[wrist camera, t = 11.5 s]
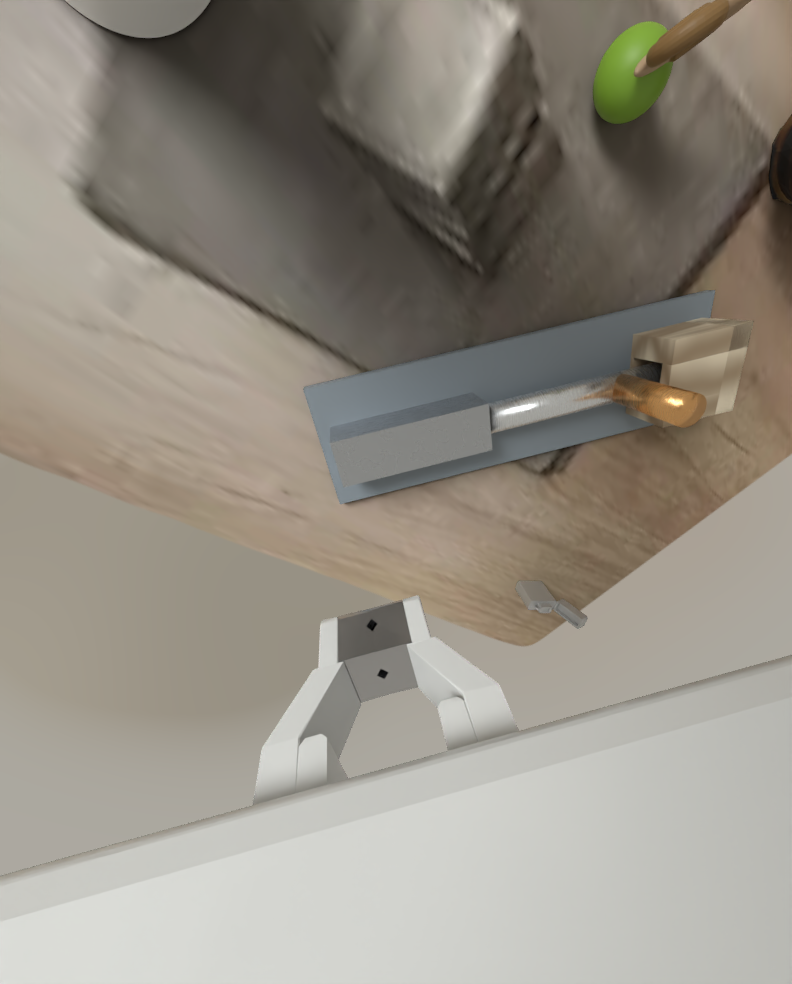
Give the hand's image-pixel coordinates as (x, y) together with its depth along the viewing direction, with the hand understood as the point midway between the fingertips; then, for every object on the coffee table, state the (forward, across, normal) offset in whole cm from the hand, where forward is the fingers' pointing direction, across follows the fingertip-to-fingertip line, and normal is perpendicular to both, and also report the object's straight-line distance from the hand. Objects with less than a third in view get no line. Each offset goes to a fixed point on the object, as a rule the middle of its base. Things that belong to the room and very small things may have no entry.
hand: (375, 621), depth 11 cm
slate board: (+33, -18, +6) cm, 38 cm away
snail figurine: (+33, -29, -19) cm, 48 cm away
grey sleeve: (+32, -5, +6) cm, 33 cm away
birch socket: (+32, -36, +6) cm, 48 cm away
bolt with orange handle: (+31, -23, +6) cm, 39 cm away
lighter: (+33, -21, +36) cm, 53 cm away
